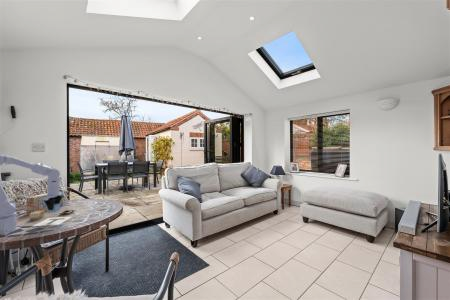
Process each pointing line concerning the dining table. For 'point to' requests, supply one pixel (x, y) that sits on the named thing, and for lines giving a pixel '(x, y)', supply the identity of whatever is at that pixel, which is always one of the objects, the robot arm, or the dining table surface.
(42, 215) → the oak block
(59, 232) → the dining table surface
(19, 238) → the dining table surface
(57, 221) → the letter card
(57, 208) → the blue cube
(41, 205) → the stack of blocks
